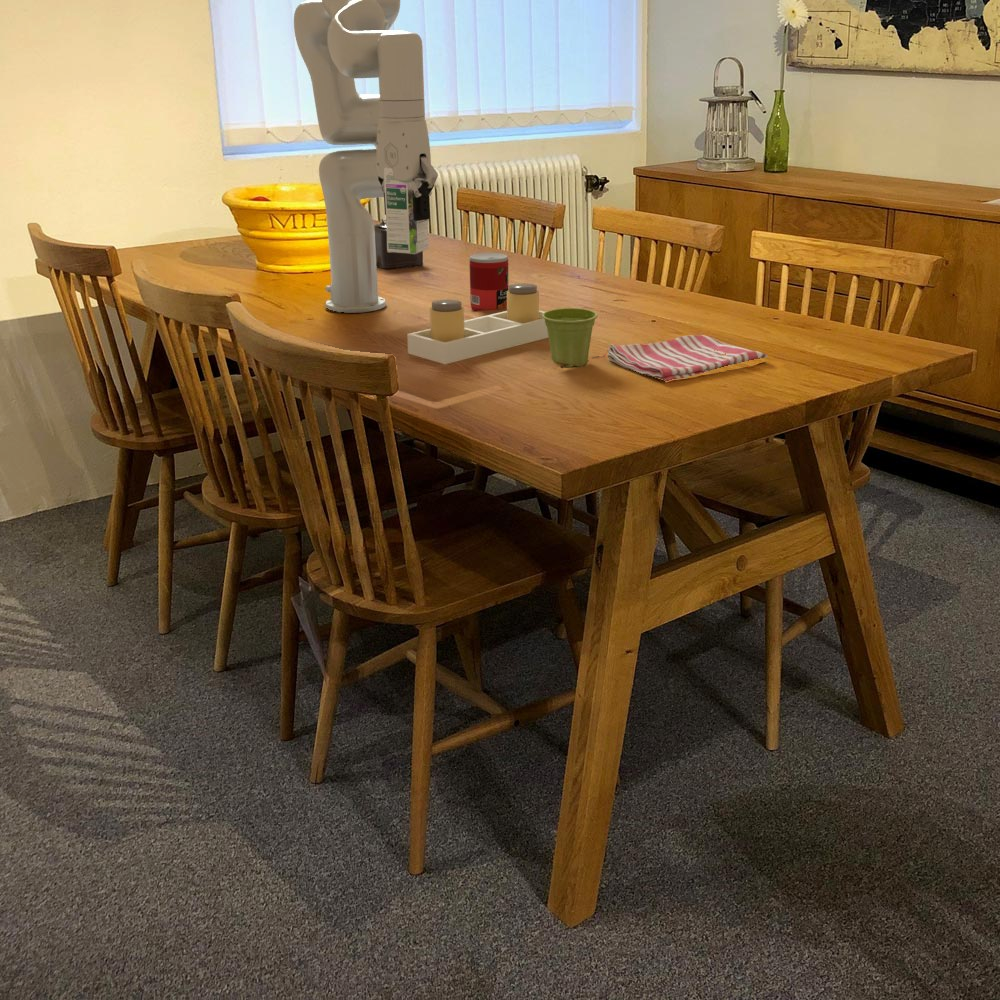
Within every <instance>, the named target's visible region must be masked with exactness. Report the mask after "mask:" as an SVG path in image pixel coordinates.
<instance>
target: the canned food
mask: <svg viewBox="0 0 1000 1000" xmlns="http://www.w3.org/2000/svg"><path fill="white" fill-rule="evenodd" d="M469 288H470V289H469V293H470V294H469V295H470V297H469V298H470V308H471V311H473V312H475V313H476V312H481V311H494V310H495V311H496V310H497V311H498V310H502V309H507V291H508V290H509V255H507V254H504V253H499V252H498V253H497V252H481V253H479V252H478V253H475V254H474V253H473V254H472V255H470V256H469Z"/></svg>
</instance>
